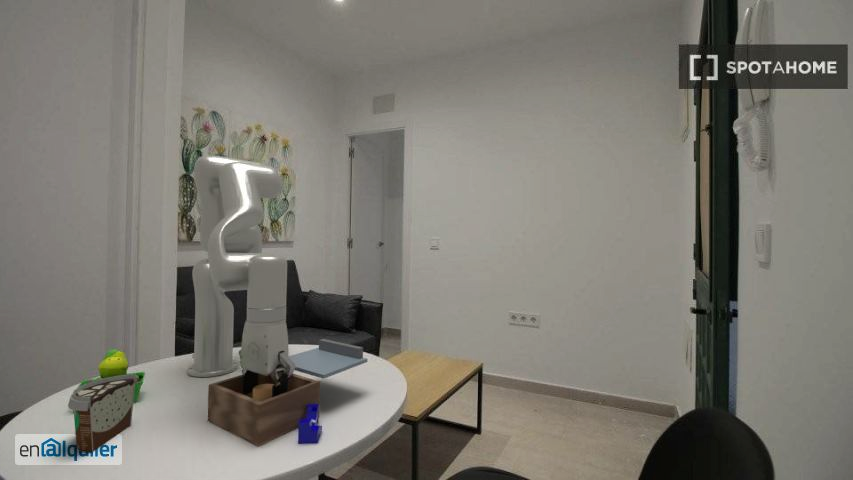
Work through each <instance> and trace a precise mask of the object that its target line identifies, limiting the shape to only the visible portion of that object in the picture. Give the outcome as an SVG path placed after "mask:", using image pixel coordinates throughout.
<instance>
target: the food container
mask: <svg viewBox="0 0 853 480" xmlns="http://www.w3.org/2000/svg"><path fill="white" fill-rule="evenodd" d="M135 384H137V377H136V374H132V375H121V376H114V377H109V378H104V379H100V380H96V381H93V382H90V383H87V384H84V385H82V386H80V387H78V386H77V387H76V388H75V389H74V390H73V392H72V394H71V395H70V397H69V401H68V404H67V407H68V409H70V410H72V411H73V419H74V431H75V433H74V434H75V442H76V443H75V445H76V449H77V451H80V452H83V453H93V452H95V451H96V450H97V449H99V448H100V447H102V446H104V444H107V442H109V441H111V440H112V439H113V438H115V437H117V436H118V435H119V434H121V433H123V431H125V430H126V429H128V428H130V427H132V420H133V410H134V403H133V401H134V391H135Z"/></svg>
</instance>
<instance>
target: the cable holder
mask: <svg viewBox="0 0 853 480" xmlns="http://www.w3.org/2000/svg"><path fill="white" fill-rule="evenodd" d="M318 417H319V418H320V403H319V404H309V405H308V407H307V414H306V419H300V421H299V423H298V428H297V429H298V430H297V432H298V433H297V445H298V444H302V445H303V444H305V445H306V444H307V445H309V444H310V445H311V444H315V445H316V444H318V443H319V441H320V439H321V437H322V435H323V434H322V433H323V425H319V418H318Z"/></svg>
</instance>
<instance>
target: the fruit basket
mask: <svg viewBox="0 0 853 480" xmlns="http://www.w3.org/2000/svg"><path fill="white" fill-rule="evenodd" d="M102 359H103V360H102V361H101V362H100V363H99V365H98V366H97V367H98V368H97V369H98V372H99V376H100V377H96V378H92V379H85V380H83V381H81V382H80V384H79V385H78V386H77V388H78V387H80V386H82V385H84V384H87V383H90V382H93V381H96V380H100V379H104V378H109V377H114V376H121V375H132V374H136V377H137V384H135V391H134V401H133V404H135V403H136V402H138V398H139V395H140V391H141V388H142V385H143V383H144V380H145V376H146V372H145V371H140V372H131V373H128V372H127V371H128V368H129V362H128V360H127V358H126V354H125V353H124V352H123V351H120V349H111V350H109V351H107V352H106V354H105V356H104V357H103V358H102Z"/></svg>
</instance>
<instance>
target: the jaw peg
mask: <svg viewBox="0 0 853 480" xmlns="http://www.w3.org/2000/svg"><path fill="white" fill-rule="evenodd" d="M273 385H274V384H262V385H258V386H256V387H254V388H253V399H255V400H258V401H260V402H262V401H265V400H267V399H270V398H272V386H273Z"/></svg>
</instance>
